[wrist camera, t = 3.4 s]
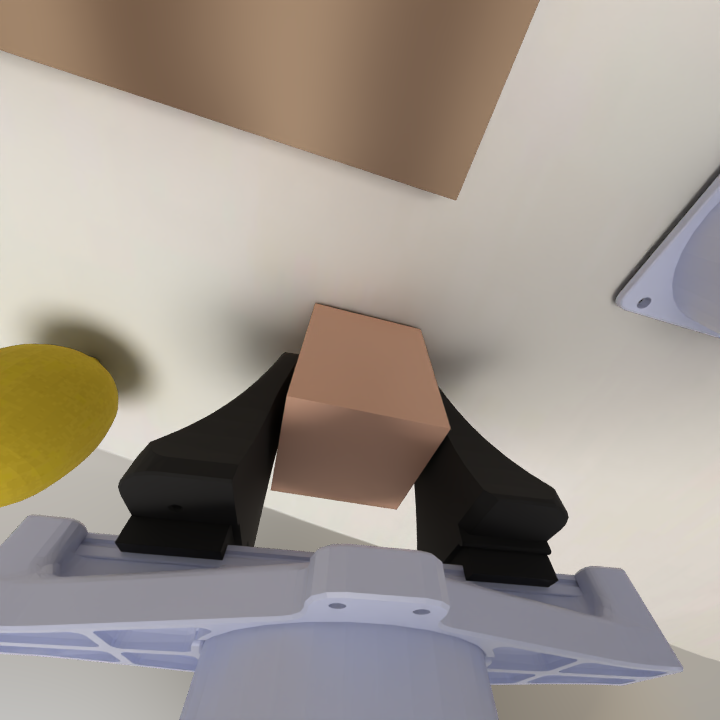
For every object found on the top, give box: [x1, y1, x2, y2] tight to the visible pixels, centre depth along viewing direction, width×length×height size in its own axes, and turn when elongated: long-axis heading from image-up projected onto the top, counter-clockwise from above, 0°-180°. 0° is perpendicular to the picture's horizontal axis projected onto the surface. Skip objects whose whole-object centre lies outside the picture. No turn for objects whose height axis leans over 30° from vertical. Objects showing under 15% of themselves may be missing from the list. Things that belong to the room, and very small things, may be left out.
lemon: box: [0, 344, 118, 507], centre depth 12 cm, size 6×6×8 cm
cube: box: [271, 303, 451, 510], centre depth 13 cm, size 5×5×6 cm
